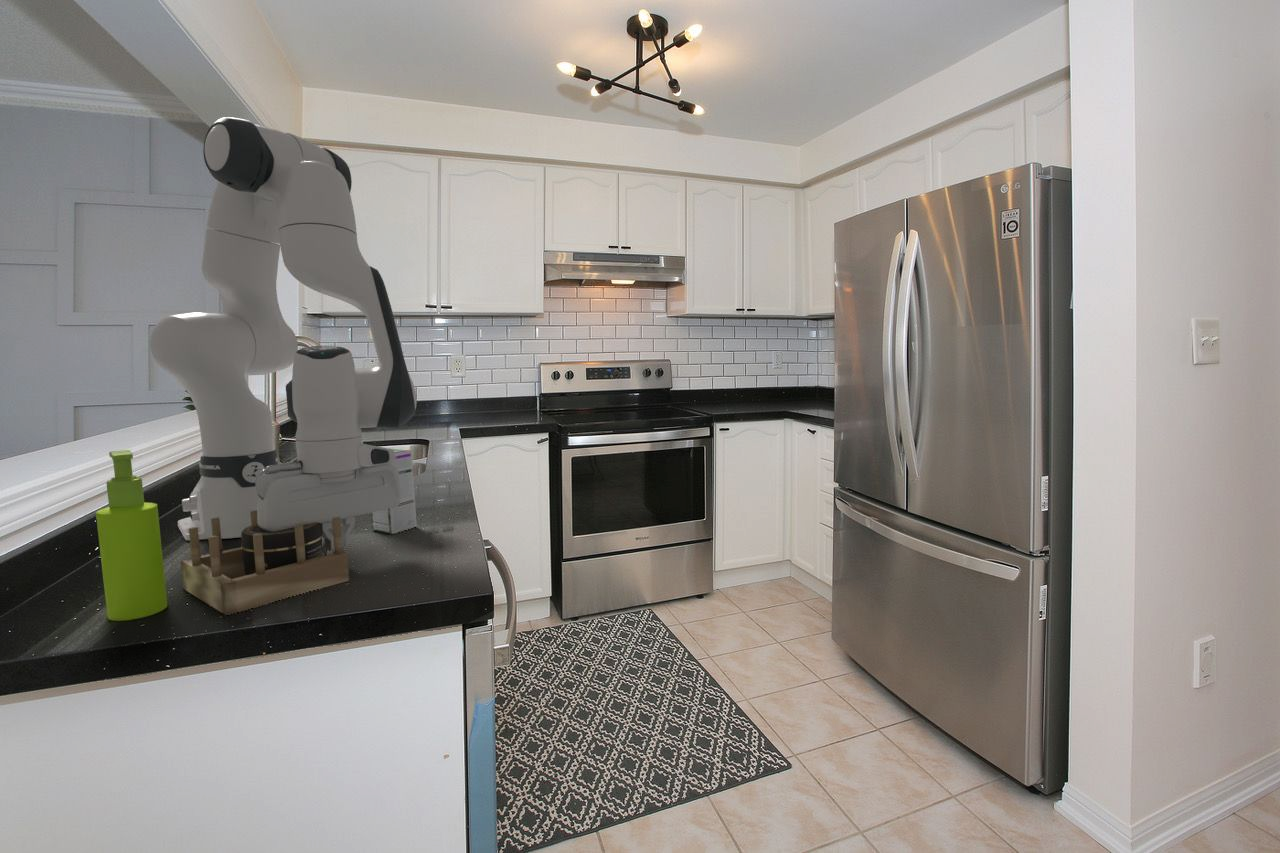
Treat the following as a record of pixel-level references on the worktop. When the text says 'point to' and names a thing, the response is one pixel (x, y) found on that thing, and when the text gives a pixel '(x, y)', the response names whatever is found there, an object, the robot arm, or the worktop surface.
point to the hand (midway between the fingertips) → (337, 548)
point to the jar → (280, 546)
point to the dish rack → (257, 571)
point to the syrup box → (405, 511)
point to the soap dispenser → (130, 546)
